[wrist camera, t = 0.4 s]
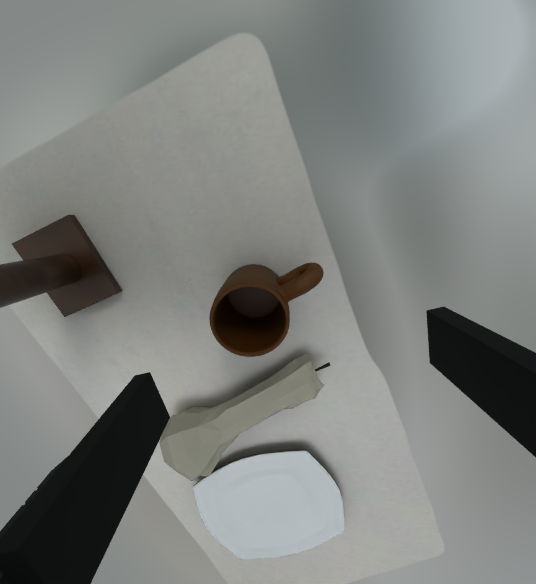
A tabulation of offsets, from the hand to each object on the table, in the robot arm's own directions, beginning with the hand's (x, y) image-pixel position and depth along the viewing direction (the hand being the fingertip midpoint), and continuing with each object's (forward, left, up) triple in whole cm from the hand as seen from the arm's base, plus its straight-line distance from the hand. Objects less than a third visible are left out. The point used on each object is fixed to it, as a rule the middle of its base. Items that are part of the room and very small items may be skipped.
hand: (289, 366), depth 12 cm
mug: (+1, 0, -20) cm, 20 cm away
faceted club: (+16, +8, -20) cm, 27 cm away
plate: (+31, +23, -20) cm, 43 cm away
